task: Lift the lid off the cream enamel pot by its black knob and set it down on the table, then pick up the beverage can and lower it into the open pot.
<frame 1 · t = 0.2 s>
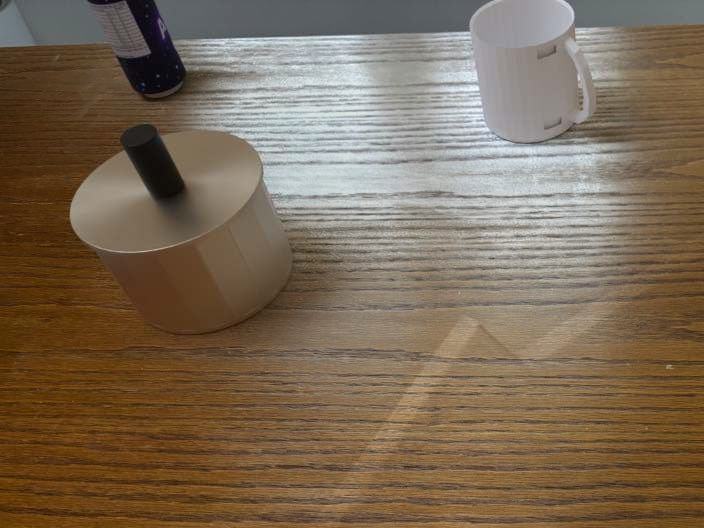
lid: (169, 192, 63), point 8 cm above the table, touching pot
pot: (214, 275, 69), on the table
mug: (541, 123, 79), on the table
beverage can: (163, 88, 89), on the table
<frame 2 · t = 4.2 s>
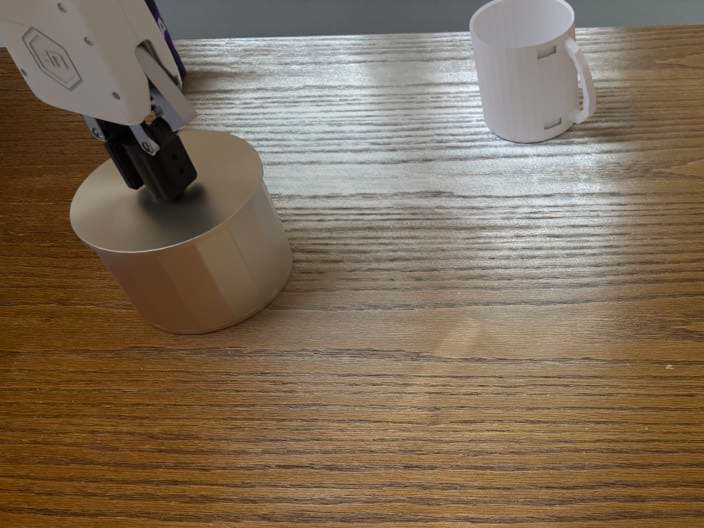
hand: (163, 181, 62), 9 cm above the table, tool pointing down, fingers closed on lid, 2 cm apart
lid: (169, 192, 63), point 9 cm above the table, touching gripper, pot
everything else where it was.
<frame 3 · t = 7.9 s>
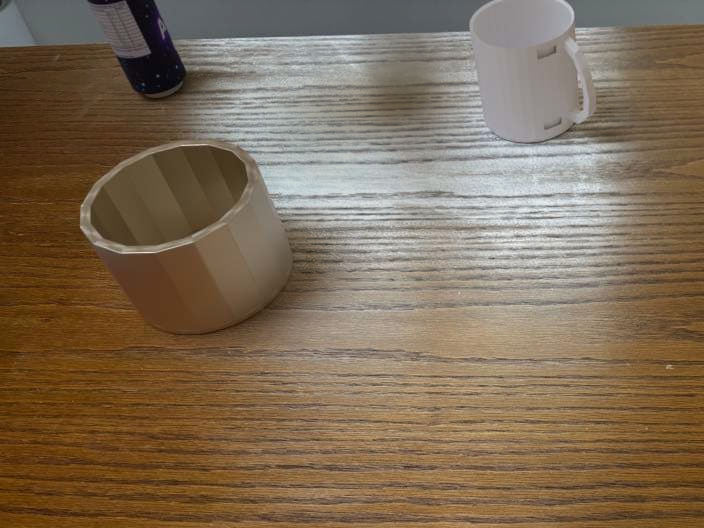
when the fingers open (2 cm above the table, at t = 11.8 s): lid stays where it is, point 1 cm above the table.
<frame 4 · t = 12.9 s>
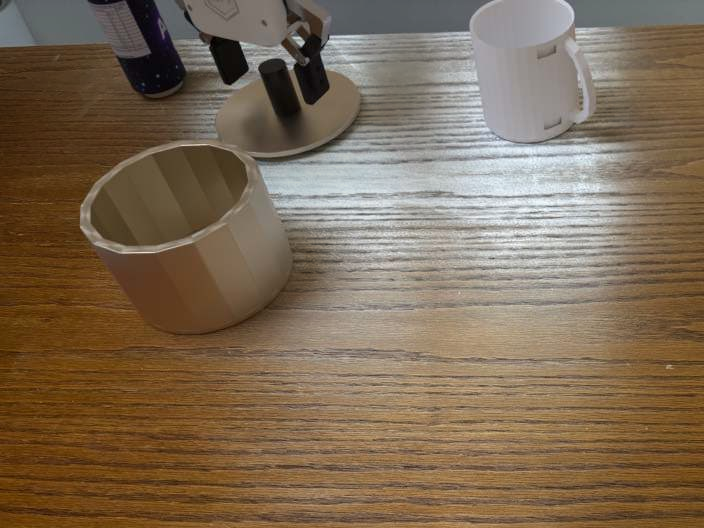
hand: (277, 87, 80), 3 cm above the table, tool pointing down, fingers open, 9 cm apart
lid: (289, 112, 82), point 1 cm above the table
everything else where it was.
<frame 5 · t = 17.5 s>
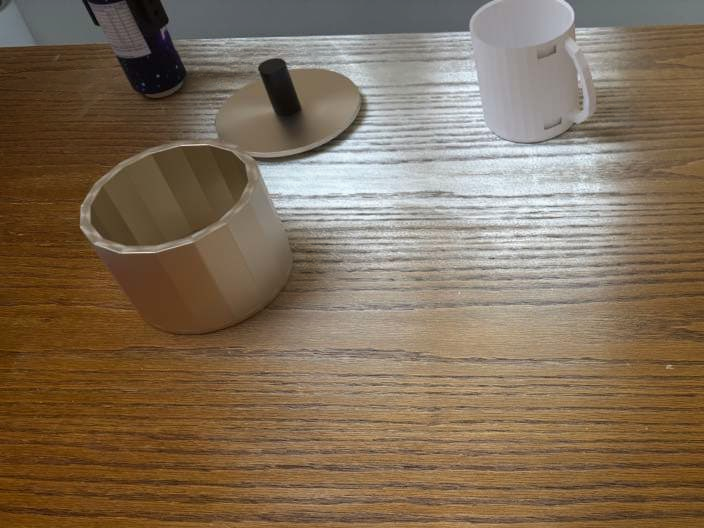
hand: (132, 22, 83), 7 cm above the table, tool pointing down, fingers closed on beverage can, 5 cm apart
beverage can: (163, 88, 89), on the table, touching gripper
everything else where it was.
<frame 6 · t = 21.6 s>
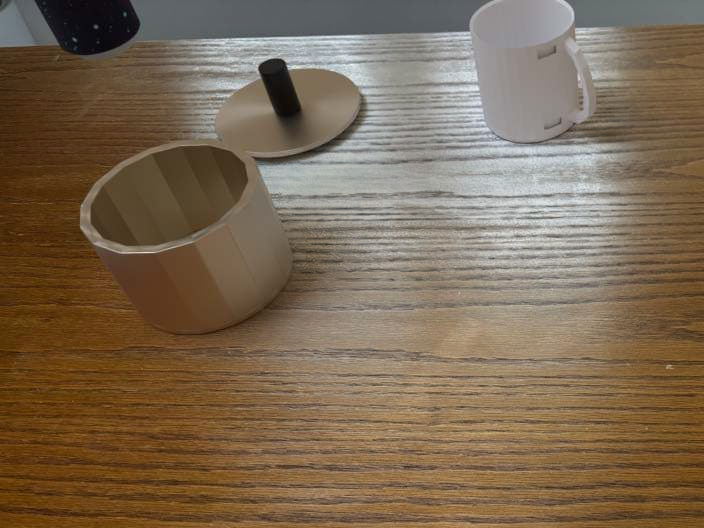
beverage can: (108, 47, 61), point 16 cm above the table, touching gripper
everything else where it was.
when the fingers open (7 cm above the table, at t = 26.2 s): beverage can stays where it is, resting on pot.
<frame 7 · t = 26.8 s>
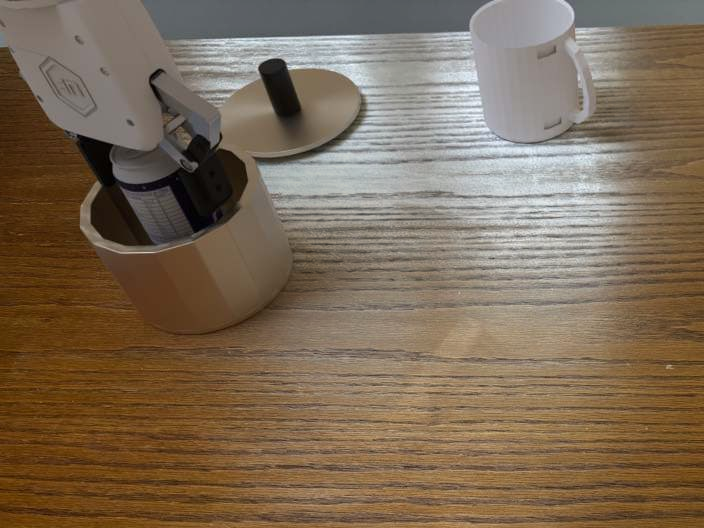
hand: (167, 190, 63), 9 cm above the table, tool pointing down, fingers open, 9 cm apart
beverage can: (212, 272, 69), resting on pot
everything else where it was.
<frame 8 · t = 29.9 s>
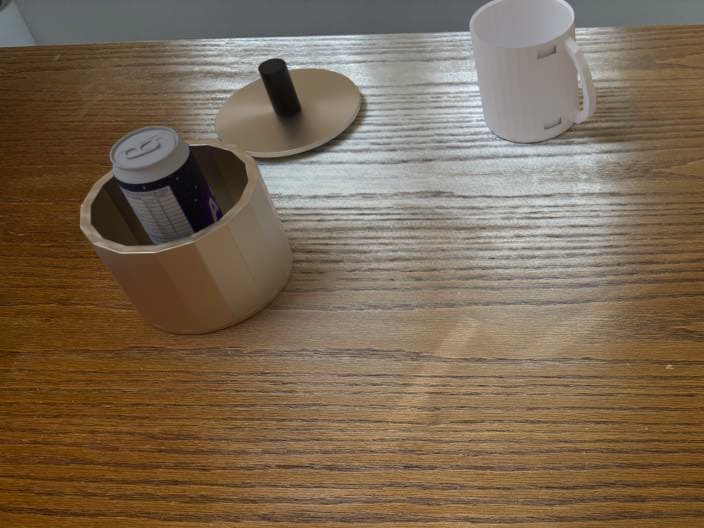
nothing on the table moved.
at the end: lid inside the target area (0.0 cm from its centre), point 0.6 cm above the table; beverage can inside the target area in the pot (0.1 cm from its centre), point 0.3 cm above the pot's base; beverage can tilted 0° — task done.
